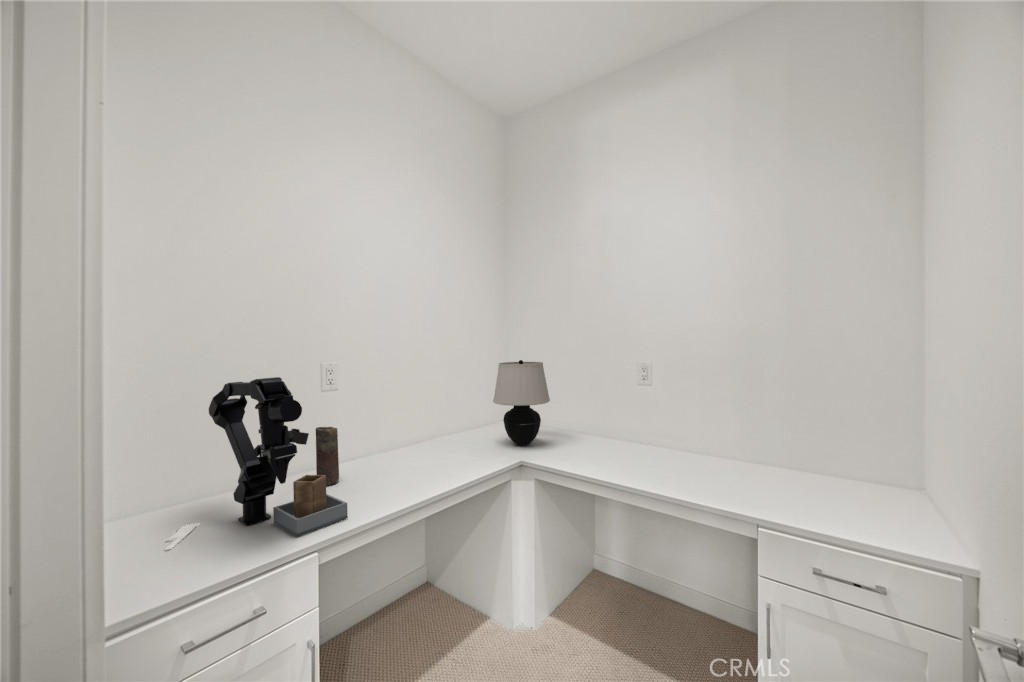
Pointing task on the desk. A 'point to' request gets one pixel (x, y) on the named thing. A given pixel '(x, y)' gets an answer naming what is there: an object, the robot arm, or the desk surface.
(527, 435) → the table lamp
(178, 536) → the white angle bracket
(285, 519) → the tray
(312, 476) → the walnut crate
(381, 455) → the desk surface
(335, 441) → the candle
